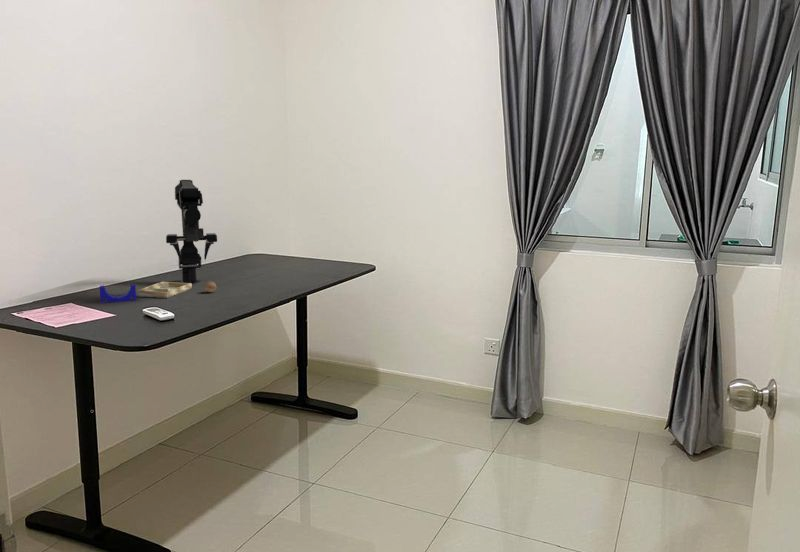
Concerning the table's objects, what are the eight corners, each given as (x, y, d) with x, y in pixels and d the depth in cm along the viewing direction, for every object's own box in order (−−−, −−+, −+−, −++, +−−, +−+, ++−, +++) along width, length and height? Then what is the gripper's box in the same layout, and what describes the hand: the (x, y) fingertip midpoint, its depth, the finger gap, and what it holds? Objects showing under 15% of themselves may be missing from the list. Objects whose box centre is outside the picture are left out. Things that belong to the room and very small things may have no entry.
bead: (208, 290, 257) (207, 280, 256) (218, 291, 256) (218, 280, 255) (202, 293, 252) (202, 282, 251) (213, 293, 251) (212, 282, 251)
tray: (162, 286, 262) (162, 281, 262) (191, 288, 260) (191, 283, 259) (136, 296, 245) (136, 290, 245) (167, 298, 243) (166, 292, 242)
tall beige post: (161, 282, 256) (159, 288, 244) (168, 281, 257) (167, 288, 245) (161, 288, 256) (160, 295, 244) (168, 288, 257) (167, 295, 245)
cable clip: (136, 298, 242) (135, 283, 241) (136, 301, 238) (135, 285, 237) (101, 300, 238) (100, 284, 237) (100, 303, 234) (99, 287, 233)
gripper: (164, 223, 237) (167, 264, 240) (217, 222, 243) (218, 262, 246) (165, 219, 248) (167, 259, 251) (215, 219, 254) (217, 257, 257)
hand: (192, 260), depth 251 cm, fingers open, 9 cm apart
